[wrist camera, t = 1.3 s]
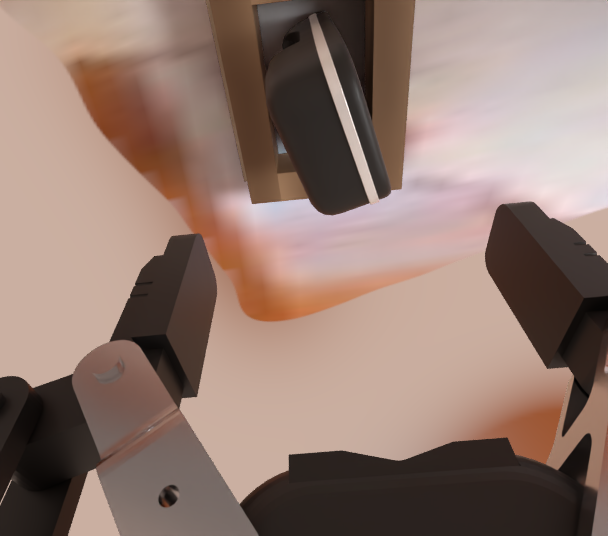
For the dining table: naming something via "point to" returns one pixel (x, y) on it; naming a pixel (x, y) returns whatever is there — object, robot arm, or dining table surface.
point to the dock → (252, 96)
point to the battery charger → (325, 118)
